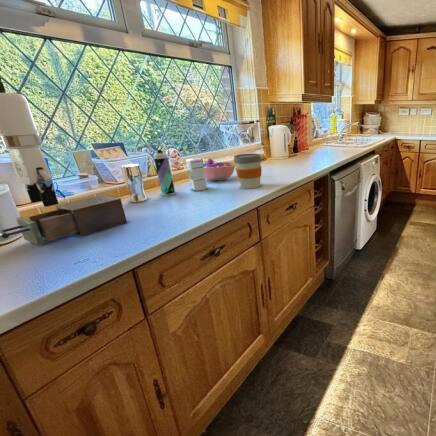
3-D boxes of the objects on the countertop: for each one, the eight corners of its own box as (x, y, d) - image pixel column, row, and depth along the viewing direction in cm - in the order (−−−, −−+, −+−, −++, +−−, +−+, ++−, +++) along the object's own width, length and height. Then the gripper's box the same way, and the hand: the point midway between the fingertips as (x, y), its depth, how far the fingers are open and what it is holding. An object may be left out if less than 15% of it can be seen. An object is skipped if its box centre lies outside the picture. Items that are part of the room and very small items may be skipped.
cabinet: (81, 236, 92) (72, 210, 89) (64, 230, 98) (55, 205, 95) (127, 222, 103) (120, 198, 100) (109, 217, 109) (102, 194, 106)
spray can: (160, 194, 138) (150, 149, 131) (173, 191, 142) (163, 148, 135) (164, 196, 134) (154, 150, 128) (177, 193, 138) (167, 149, 131)
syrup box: (207, 188, 145) (202, 158, 140) (195, 191, 141) (189, 160, 136) (203, 187, 149) (197, 157, 144) (191, 189, 145) (185, 159, 140)
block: (68, 230, 92) (63, 216, 90) (49, 235, 88) (44, 221, 87) (61, 228, 94) (56, 214, 93) (43, 233, 90) (37, 219, 89)
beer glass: (125, 202, 127) (115, 166, 122) (138, 197, 134) (130, 163, 129) (139, 202, 126) (129, 167, 121) (151, 198, 132) (143, 164, 127)
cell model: (226, 184, 153) (223, 161, 149) (192, 183, 157) (188, 161, 154) (243, 177, 168) (240, 156, 164) (211, 176, 173) (208, 156, 169)
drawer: (11, 254, 80) (1, 230, 77) (-2, 247, 84) (-13, 224, 82) (89, 230, 94) (83, 210, 92) (74, 225, 99) (67, 205, 97)
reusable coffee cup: (255, 190, 139) (251, 157, 134) (232, 189, 143) (227, 157, 138) (268, 183, 151) (265, 153, 145) (246, 182, 154) (243, 153, 149)
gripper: (-8, 142, 83) (16, 203, 89) (16, 144, 75) (41, 211, 81) (27, 140, 89) (48, 196, 95) (53, 141, 81) (74, 203, 87)
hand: (44, 203), depth 88 cm, fingers open, 8 cm apart
